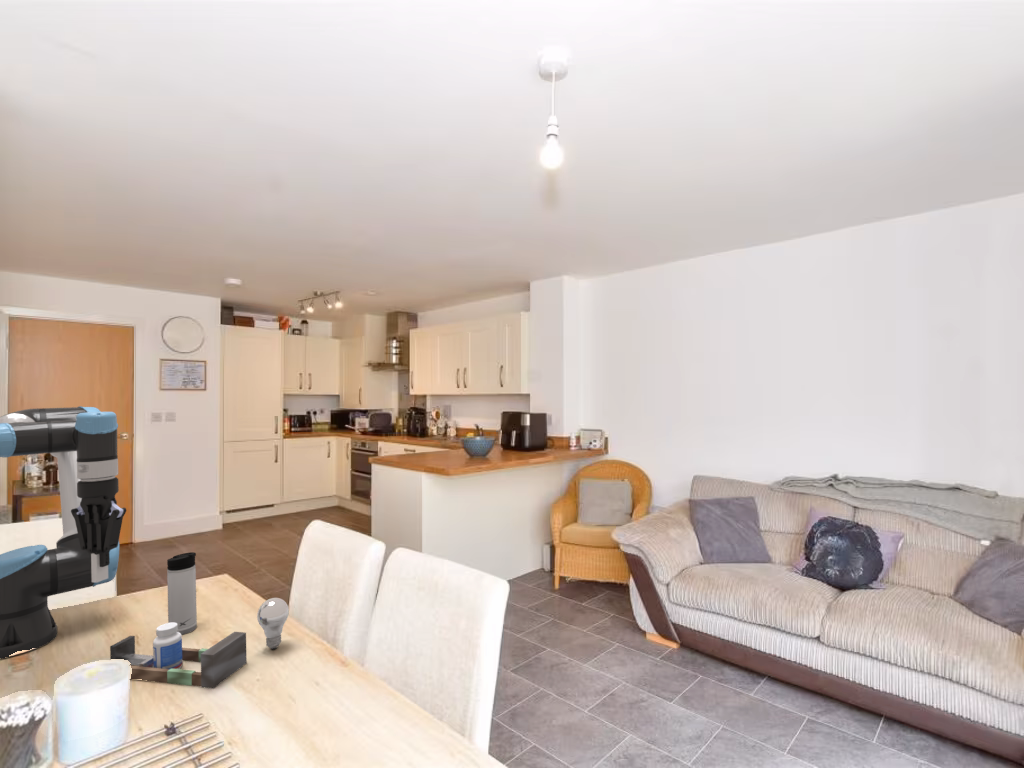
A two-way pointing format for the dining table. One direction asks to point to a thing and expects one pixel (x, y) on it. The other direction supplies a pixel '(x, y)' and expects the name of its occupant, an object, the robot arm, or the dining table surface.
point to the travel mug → (182, 592)
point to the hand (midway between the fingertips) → (100, 580)
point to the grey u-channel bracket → (130, 653)
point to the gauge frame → (202, 664)
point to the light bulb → (273, 620)
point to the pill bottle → (168, 647)
